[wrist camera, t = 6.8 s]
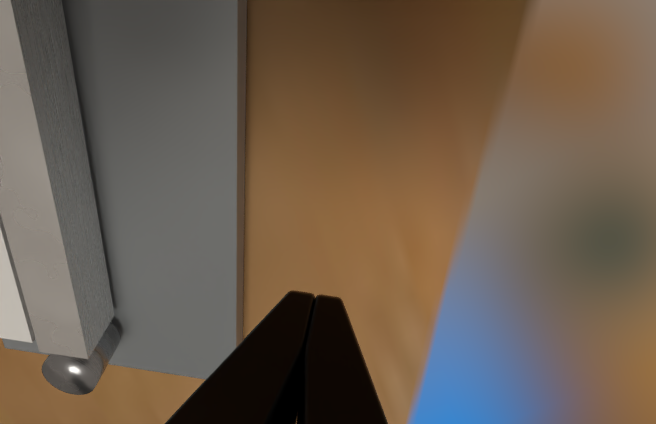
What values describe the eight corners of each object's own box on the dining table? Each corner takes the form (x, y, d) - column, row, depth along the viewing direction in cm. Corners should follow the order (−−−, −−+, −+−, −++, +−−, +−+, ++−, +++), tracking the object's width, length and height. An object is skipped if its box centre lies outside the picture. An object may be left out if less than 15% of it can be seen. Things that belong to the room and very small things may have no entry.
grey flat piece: (242, 363, 23) (221, 430, 20) (19, 329, 23) (-28, 390, 21) (248, -97, 14) (212, -80, 11) (-118, -140, 14) (-231, -133, 12)
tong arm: (123, 353, 21) (99, 398, 19) (75, 346, 21) (47, 390, 20) (55, -64, 13) (5, -48, 12) (-21, -72, 13) (-81, -58, 12)
